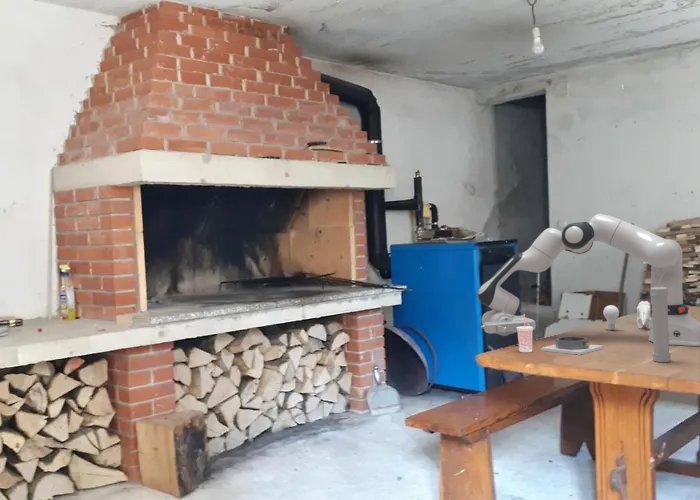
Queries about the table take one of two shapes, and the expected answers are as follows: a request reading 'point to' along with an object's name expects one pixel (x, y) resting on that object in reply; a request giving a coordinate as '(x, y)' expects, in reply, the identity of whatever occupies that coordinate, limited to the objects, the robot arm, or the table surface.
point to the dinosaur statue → (643, 314)
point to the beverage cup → (525, 337)
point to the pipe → (660, 324)
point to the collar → (572, 342)
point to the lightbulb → (611, 316)
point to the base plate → (575, 351)
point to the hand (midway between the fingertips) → (517, 328)
